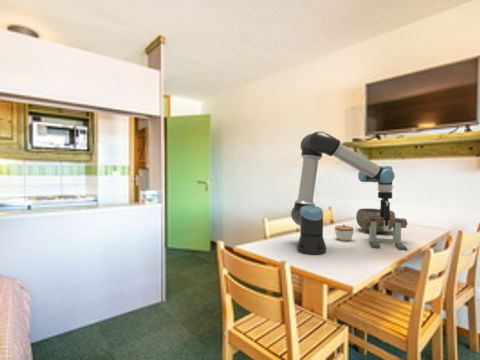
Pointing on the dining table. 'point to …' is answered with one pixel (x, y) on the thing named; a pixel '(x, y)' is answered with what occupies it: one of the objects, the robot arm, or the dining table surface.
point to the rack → (373, 238)
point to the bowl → (370, 213)
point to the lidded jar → (344, 232)
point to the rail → (380, 221)
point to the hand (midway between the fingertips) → (384, 229)
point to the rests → (398, 245)
